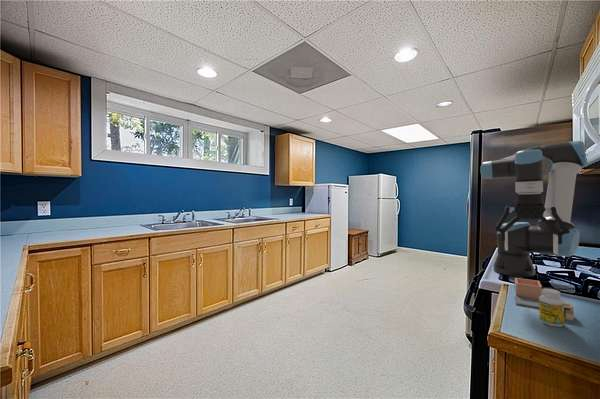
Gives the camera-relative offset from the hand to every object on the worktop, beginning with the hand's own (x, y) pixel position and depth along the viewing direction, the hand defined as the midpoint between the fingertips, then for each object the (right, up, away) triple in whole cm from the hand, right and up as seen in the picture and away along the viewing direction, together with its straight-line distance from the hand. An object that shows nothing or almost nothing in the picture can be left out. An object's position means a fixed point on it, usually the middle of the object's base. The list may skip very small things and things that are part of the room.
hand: (530, 251), depth 96 cm
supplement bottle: (-9, -18, -18) cm, 27 cm away
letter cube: (-2, -17, -14) cm, 22 cm away
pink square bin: (0, -17, +1) cm, 17 cm away
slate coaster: (-5, -17, -5) cm, 18 cm away
